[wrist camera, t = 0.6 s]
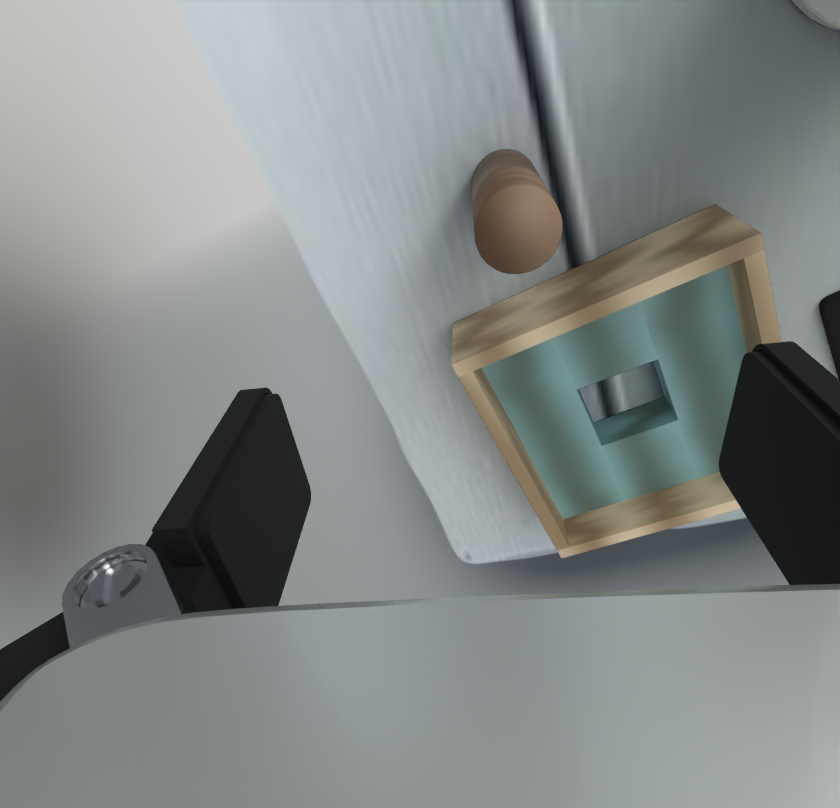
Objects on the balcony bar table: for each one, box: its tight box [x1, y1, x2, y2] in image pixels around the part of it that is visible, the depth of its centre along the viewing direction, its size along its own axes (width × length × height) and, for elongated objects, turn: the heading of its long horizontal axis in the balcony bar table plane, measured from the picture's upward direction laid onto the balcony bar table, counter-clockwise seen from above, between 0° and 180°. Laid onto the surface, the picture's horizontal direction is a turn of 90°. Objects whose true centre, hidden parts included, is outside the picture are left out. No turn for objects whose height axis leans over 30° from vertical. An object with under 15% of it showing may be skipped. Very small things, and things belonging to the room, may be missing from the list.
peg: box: [471, 149, 563, 274], centre depth 28 cm, size 4×4×10 cm
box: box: [451, 204, 781, 558], centre depth 37 cm, size 18×20×6 cm
